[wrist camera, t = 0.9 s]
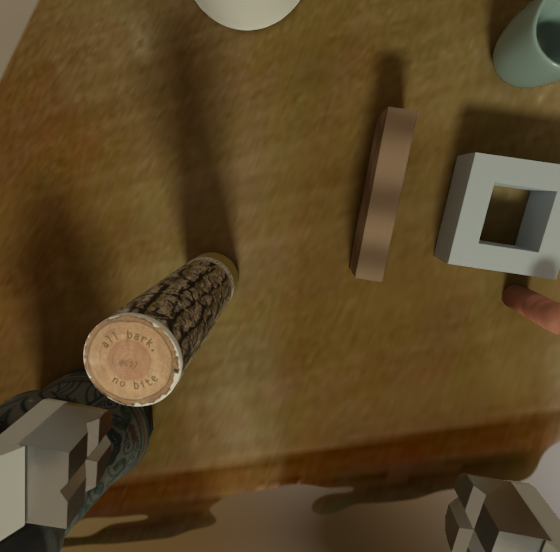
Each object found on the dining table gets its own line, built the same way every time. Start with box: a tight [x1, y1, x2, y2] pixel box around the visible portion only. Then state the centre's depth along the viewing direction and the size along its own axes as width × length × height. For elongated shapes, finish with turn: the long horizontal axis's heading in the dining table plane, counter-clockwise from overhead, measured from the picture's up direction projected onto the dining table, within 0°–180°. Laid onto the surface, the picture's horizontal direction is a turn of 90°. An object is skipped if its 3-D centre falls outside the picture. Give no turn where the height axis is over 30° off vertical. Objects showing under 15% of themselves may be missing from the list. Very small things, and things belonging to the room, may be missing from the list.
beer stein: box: [0, 368, 153, 552], centre depth 44 cm, size 16×19×25 cm
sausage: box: [502, 284, 560, 334], centre depth 45 cm, size 3×3×9 cm
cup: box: [492, 0, 560, 88], centre depth 38 cm, size 8×8×10 cm
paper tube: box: [83, 252, 239, 407], centre depth 39 cm, size 7×7×25 cm
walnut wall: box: [349, 107, 418, 282], centre depth 44 cm, size 18×3×6 cm, turn 172°
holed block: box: [434, 152, 560, 280], centre depth 45 cm, size 12×12×5 cm
